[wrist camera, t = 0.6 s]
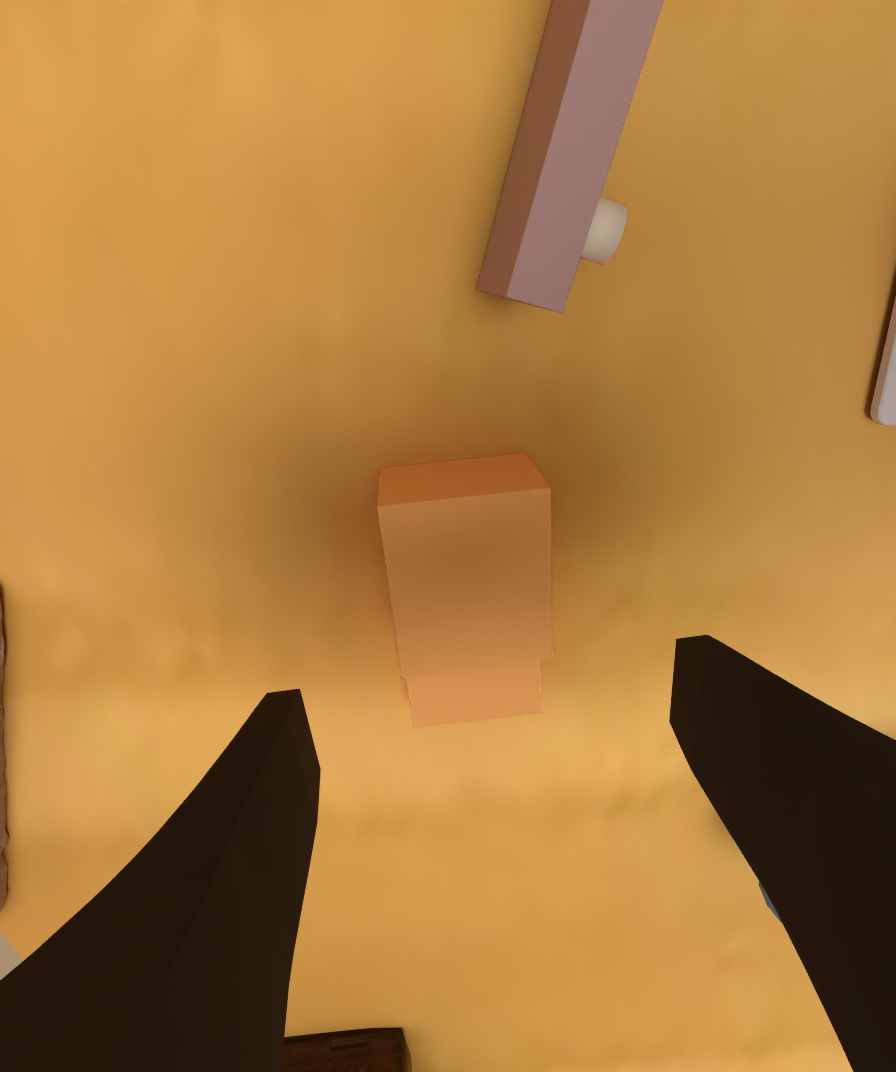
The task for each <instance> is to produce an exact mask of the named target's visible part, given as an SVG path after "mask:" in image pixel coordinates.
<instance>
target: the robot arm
mask: <svg viewBox="0 0 896 1072" xmlns="http://www.w3.org/2000/svg"><path fill="white" fill-rule="evenodd" d="M870 415H871V417H872V420H873V421H875V422H876V423H879V424H882V425H887V426H892V425H896V298H895V302H894V307H893V311H892V316H891V320H890V325H889V329H888V334H887V338H886V343H885V347H884V352H883V356H882V361H881V365H880V370H879V374H878V379H877V383H876V387H875V392H874V396H873V401H872V405H871V414H870ZM669 722H670V724H671V726H672V729H673V731H674V733H675V735H676V738H677V740H678V742H679V745H680V747H681V749H682V751H683V753H684V755H685V758H686V760H687V762H688V764H689V766H690V768H691V770H692V772H693V774H694V775H695V777H696V779H697V780H698V782H699V784H700V785H701V787H702V789H703V790H704V792H705V794H706V795H707V797H708V799H709V800H710V802H711V804H712V805H713V807H714V808H715V810H716V812H717V813H718V815H719V817H720V818H721V820H722V821H723V823H724V825H725V826H726V828H727V830H728V831H729V833H730V834H731V836H732V838H733V839H734V841H735V842H736V844H737V846H738V847H739V849H740V851H741V852H742V854H743V855H744V857H745V859H746V860H747V862H748V864H749V865H750V867H751V868H752V870H753V872H754V873H755V875H756V876H757V878H758V880H759V881H760V883H761V885H762V886H763V888H764V890H765V892H766V893H767V895H768V897H769V899H770V901H771V902H772V904H773V906H774V908H775V909H776V911H777V913H778V915H779V917H780V919H781V921H782V923H783V925H784V927H785V929H786V931H787V933H788V935H789V937H790V939H791V941H792V943H793V945H794V947H795V949H796V951H797V953H798V955H799V957H800V959H801V961H802V963H803V965H804V967H805V969H806V971H807V973H808V975H809V977H810V980H811V982H812V984H813V986H814V988H815V990H816V992H817V994H818V996H819V999H820V1001H821V1003H822V1005H823V1007H824V1009H825V1011H826V1013H827V1015H828V1017H829V1020H830V1022H831V1024H832V1026H833V1028H834V1030H835V1032H836V1034H837V1036H838V1039H839V1041H840V1043H841V1045H842V1047H843V1050H844V1052H845V1054H846V1056H847V1059H848V1061H849V1063H850V1065H851V1068H852V1070H853V1072H896V740H894V739H892V738H890V737H888V736H886V735H884V734H882V733H880V732H878V731H876V730H874V729H873V728H871V727H869V726H867V725H865V724H863V723H861V722H859V721H857V720H855V719H853V718H851V717H850V716H848V715H846V714H844V713H842V712H840V711H838V710H837V709H835V708H833V707H831V706H829V705H827V704H826V703H824V702H822V701H820V700H818V699H817V698H815V697H813V696H811V695H810V694H808V693H806V692H804V691H803V690H801V689H799V688H798V687H796V686H794V685H792V684H791V683H789V682H787V681H786V680H784V679H782V678H781V677H779V676H777V675H775V674H774V673H772V672H770V671H769V670H767V669H765V668H764V667H762V666H760V665H759V664H757V663H755V662H754V661H752V660H750V659H749V658H747V657H745V656H744V655H742V654H740V653H739V652H737V651H735V650H734V649H732V648H730V647H729V646H727V645H725V644H723V643H722V642H720V641H718V640H716V639H714V638H713V637H711V636H709V635H702V636H695V637H687V638H679V639H676V649H675V661H674V673H673V684H672V696H671V708H670V720H669ZM319 787H320V766H319V762H318V758H317V754H316V750H315V746H314V742H313V738H312V734H311V731H310V727H309V723H308V719H307V715H306V711H305V707H304V703H303V699H302V695H301V692H300V689H294V690H287V691H279V692H271V693H267V694H266V695H265V696H264V698H263V699H262V700H261V701H260V703H259V704H258V705H257V707H256V708H255V709H254V711H253V712H252V713H251V715H250V716H249V718H248V719H247V720H246V722H245V723H244V724H243V726H242V727H241V729H240V730H239V731H238V733H237V734H236V735H235V737H234V738H233V739H232V741H231V742H230V743H229V745H228V746H227V747H226V749H225V750H224V751H223V753H222V754H221V755H220V757H219V758H218V759H217V760H216V762H215V763H214V764H213V766H212V767H211V768H210V769H209V771H208V772H207V773H206V775H205V776H204V777H203V778H202V780H201V781H200V782H199V783H198V785H197V786H196V787H195V788H194V790H193V791H192V792H191V793H190V795H189V796H188V797H187V798H186V799H185V800H184V802H183V803H182V804H181V805H180V806H179V807H178V809H177V810H176V811H175V812H174V813H173V814H172V816H171V817H170V818H169V819H168V820H167V822H166V823H165V824H164V825H163V826H162V827H161V829H160V830H159V831H158V832H157V833H156V834H155V835H154V836H153V838H152V839H151V840H150V841H149V842H148V843H147V844H146V845H145V846H144V847H143V848H142V850H141V851H140V852H139V853H138V854H137V855H136V856H135V857H134V858H133V859H132V860H131V861H130V862H129V863H128V864H127V865H126V866H125V867H124V868H123V869H122V870H121V871H120V872H119V873H118V874H117V875H116V876H115V877H114V878H113V879H112V880H111V881H110V882H109V883H108V884H107V885H106V886H105V887H104V888H103V889H102V890H101V891H100V892H99V893H98V894H97V895H96V896H95V897H94V898H93V899H92V900H91V901H89V902H88V903H87V904H86V905H85V906H84V907H83V908H82V909H81V910H80V911H79V912H77V913H76V914H75V915H74V916H73V917H72V918H71V919H70V920H69V921H68V922H66V923H65V924H64V925H63V926H62V927H61V928H60V929H59V930H58V931H57V932H55V933H54V934H53V935H52V936H51V937H50V938H49V939H48V940H47V941H46V942H45V943H43V944H42V945H41V946H40V947H39V948H38V949H37V950H36V951H35V952H33V953H32V954H31V955H30V956H29V957H28V958H26V959H25V960H24V961H23V962H22V963H21V964H19V965H18V966H17V967H16V968H15V969H13V970H12V971H11V972H10V973H9V974H7V975H6V976H5V977H4V978H3V979H2V980H0V1072H281V1066H282V1054H283V1043H284V1033H285V1022H286V1011H287V1001H288V990H289V981H290V974H291V967H292V961H293V954H294V948H295V943H296V937H297V932H298V926H299V921H300V915H301V910H302V904H303V899H304V894H305V888H306V883H307V877H308V872H309V866H310V861H311V855H312V849H313V844H314V838H315V832H316V826H317V817H318V804H319Z"/></svg>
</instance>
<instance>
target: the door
mask: <svg viewBox="0 0 896 1072" xmlns="http://www.w3.org/2000/svg"><path fill="white" fill-rule="evenodd" d="M663 2H664V0H553V2H552V5H551V9H550V13H549V17H548V20H547V24H546V28H545V32H544V35H543V39H542V43H541V47H540V50H539V54H538V58H537V62H536V66H535V69H534V73H533V77H532V81H531V84H530V88H529V92H528V96H527V99H526V103H525V107H524V111H523V114H522V118H521V122H520V126H519V129H518V133H517V137H516V141H515V145H514V148H513V152H512V156H511V160H510V163H509V167H508V171H507V175H506V178H505V182H504V186H503V190H502V193H501V197H500V201H499V205H498V208H497V212H496V216H495V220H494V223H493V227H492V231H491V235H490V239H489V242H488V246H487V250H486V254H485V257H484V261H483V265H482V269H481V272H480V276H479V280H478V284H477V287H476V290H479V291H483V292H486V293H490V294H493V295H496V296H500V297H503V298H507V299H510V300H513V301H517V302H520V303H524V304H528V305H532V306H536V307H540V308H544V309H548V310H551V311H555V312H559V313H563V310H564V307H565V304H566V301H567V297H568V294H569V291H570V288H571V285H572V282H573V279H574V276H575V273H576V270H577V267H578V264H579V260H580V258H583V259H586V260H589V261H593V262H596V263H599V264H602V265H604V264H606V263H607V262H608V261H609V260H610V259H611V257H612V256H613V254H614V253H615V251H616V249H617V247H618V245H619V243H620V240H621V238H622V235H623V232H624V229H625V226H626V221H627V214H628V210H627V206H626V205H624V204H621V203H618V202H615V201H612V200H609V199H606V198H603V197H600V196H601V193H602V190H603V186H604V183H605V180H606V177H607V174H608V171H609V168H610V165H611V162H612V159H613V156H614V153H615V149H616V146H617V143H618V140H619V137H620V134H621V131H622V128H623V125H624V122H625V119H626V116H627V112H628V109H629V106H630V103H631V100H632V97H633V94H634V91H635V88H636V85H637V82H638V79H639V76H640V72H641V69H642V66H643V63H644V60H645V57H646V54H647V51H648V48H649V45H650V42H651V39H652V35H653V32H654V29H655V26H656V23H657V20H658V17H659V14H660V11H661V8H662V5H663Z"/></svg>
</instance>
